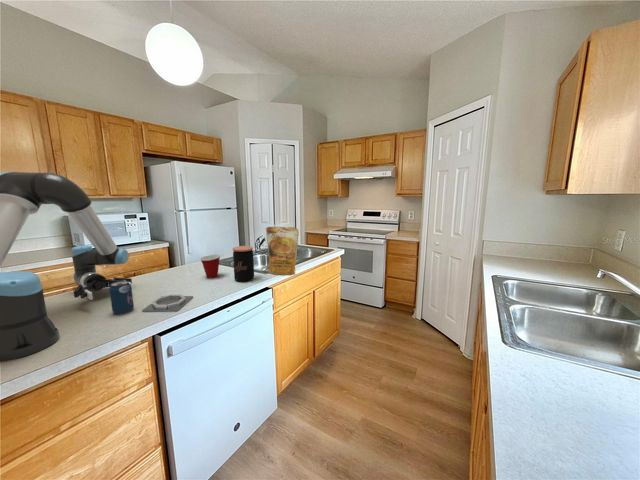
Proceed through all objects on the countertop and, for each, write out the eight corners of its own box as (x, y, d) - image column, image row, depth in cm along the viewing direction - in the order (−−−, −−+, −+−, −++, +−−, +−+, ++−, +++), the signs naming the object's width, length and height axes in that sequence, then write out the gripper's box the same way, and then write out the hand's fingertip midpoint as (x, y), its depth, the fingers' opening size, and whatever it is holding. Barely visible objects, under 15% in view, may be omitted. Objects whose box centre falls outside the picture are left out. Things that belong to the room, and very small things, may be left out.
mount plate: (142, 311, 103) (141, 307, 103) (162, 297, 117) (161, 293, 116) (177, 311, 103) (177, 306, 103) (193, 297, 117) (192, 293, 117)
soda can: (135, 311, 103) (131, 283, 101) (113, 316, 99) (109, 287, 97) (133, 305, 109) (129, 278, 106) (112, 310, 104) (107, 282, 102)
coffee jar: (230, 280, 140) (228, 248, 137) (244, 275, 149) (242, 245, 146) (244, 283, 135) (243, 250, 132) (258, 278, 145) (257, 247, 141)
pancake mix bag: (269, 271, 158) (267, 226, 153) (299, 272, 154) (298, 226, 149) (265, 274, 151) (263, 227, 146) (296, 276, 148) (295, 228, 143)
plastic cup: (201, 275, 149) (199, 255, 147) (221, 272, 154) (219, 253, 152) (201, 281, 140) (199, 259, 137) (222, 278, 144) (221, 257, 142)
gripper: (126, 281, 130) (145, 290, 119) (58, 298, 110) (74, 310, 98) (124, 267, 129) (143, 274, 117) (54, 281, 108) (70, 291, 97)
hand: (112, 291), depth 108 cm, fingers open, 13 cm apart
